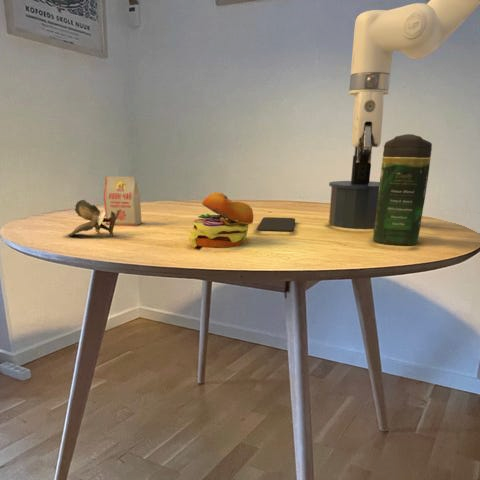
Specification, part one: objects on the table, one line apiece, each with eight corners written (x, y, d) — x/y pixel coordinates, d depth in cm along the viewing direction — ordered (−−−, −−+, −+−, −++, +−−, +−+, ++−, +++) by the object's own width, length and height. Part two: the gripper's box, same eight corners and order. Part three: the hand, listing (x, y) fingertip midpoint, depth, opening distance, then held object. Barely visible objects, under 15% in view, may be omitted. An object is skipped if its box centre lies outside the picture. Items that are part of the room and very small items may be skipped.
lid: (385, 186, 104) (388, 155, 101) (395, 192, 92) (399, 157, 90) (327, 185, 105) (329, 154, 103) (330, 191, 94) (332, 156, 91)
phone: (255, 229, 93) (263, 217, 107) (255, 233, 94) (263, 220, 107) (293, 230, 92) (295, 217, 106) (292, 234, 93) (295, 221, 106)
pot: (379, 223, 106) (383, 184, 103) (387, 232, 96) (392, 189, 93) (327, 221, 108) (330, 183, 105) (330, 230, 97) (333, 188, 94)
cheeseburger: (178, 241, 85) (189, 186, 83) (230, 250, 90) (242, 198, 88) (197, 251, 77) (209, 190, 74) (254, 261, 82) (267, 204, 79)
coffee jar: (417, 250, 80) (434, 133, 73) (370, 246, 82) (382, 133, 76) (418, 240, 88) (434, 134, 82) (375, 236, 91) (387, 134, 84)
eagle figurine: (121, 225, 95) (77, 216, 95) (118, 197, 90) (72, 188, 89) (110, 251, 91) (64, 242, 90) (107, 224, 85) (57, 215, 85)
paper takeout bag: (113, 221, 106) (109, 175, 103) (141, 222, 105) (138, 176, 102) (106, 224, 103) (101, 177, 99) (135, 225, 102) (131, 177, 98)
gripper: (396, 81, 84) (384, 187, 90) (382, 90, 99) (372, 180, 106) (353, 81, 84) (344, 186, 91) (346, 90, 100) (339, 179, 106)
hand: (359, 182), depth 98 cm, fingers closed on lid, 3 cm apart
